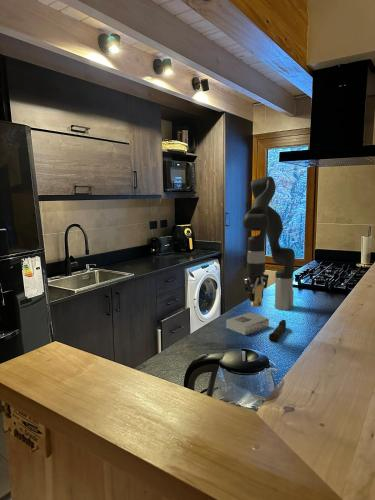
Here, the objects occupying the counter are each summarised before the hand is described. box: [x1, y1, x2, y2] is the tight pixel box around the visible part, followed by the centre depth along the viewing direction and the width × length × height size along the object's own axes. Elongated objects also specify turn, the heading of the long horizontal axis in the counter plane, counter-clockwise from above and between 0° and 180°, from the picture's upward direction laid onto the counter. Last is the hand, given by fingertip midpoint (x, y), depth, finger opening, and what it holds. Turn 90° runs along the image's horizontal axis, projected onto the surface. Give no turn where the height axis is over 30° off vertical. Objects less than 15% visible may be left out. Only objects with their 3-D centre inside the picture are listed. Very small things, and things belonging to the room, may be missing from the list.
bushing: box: [250, 284, 263, 308], centre depth 150 cm, size 5×5×9 cm
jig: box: [225, 312, 270, 336], centre depth 164 cm, size 16×12×4 cm
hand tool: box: [268, 319, 287, 343], centre depth 154 cm, size 19×4×5 cm, turn 148°
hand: (256, 299), depth 150 cm, fingers closed on bushing, 4 cm apart
